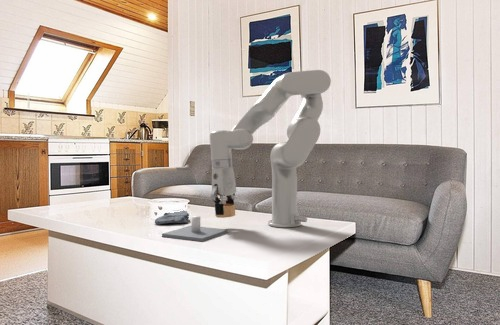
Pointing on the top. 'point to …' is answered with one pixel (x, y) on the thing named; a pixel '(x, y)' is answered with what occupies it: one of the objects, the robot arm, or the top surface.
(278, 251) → the top surface
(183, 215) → the fossil
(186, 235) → the grey square base plate
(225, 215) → the ring
